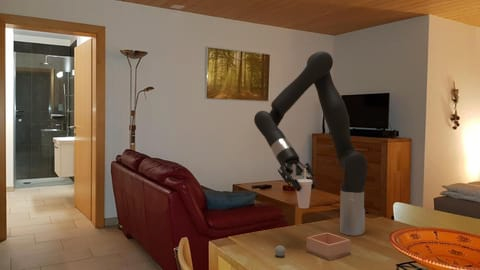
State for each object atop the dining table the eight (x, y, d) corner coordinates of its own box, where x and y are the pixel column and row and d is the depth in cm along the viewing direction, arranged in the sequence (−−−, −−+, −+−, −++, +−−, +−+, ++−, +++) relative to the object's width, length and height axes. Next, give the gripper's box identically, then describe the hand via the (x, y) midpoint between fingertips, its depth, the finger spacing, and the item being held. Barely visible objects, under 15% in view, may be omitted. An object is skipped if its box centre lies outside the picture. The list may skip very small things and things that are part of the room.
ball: (280, 253, 137) (280, 243, 137) (287, 256, 134) (287, 246, 134) (272, 255, 135) (272, 245, 135) (279, 258, 132) (279, 248, 132)
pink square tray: (327, 245, 145) (327, 232, 145) (350, 254, 137) (350, 239, 136) (306, 251, 139) (306, 237, 139) (329, 260, 130) (329, 245, 130)
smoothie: (312, 209, 138) (312, 169, 137) (294, 208, 140) (293, 169, 139) (313, 205, 144) (312, 167, 144) (295, 204, 146) (295, 166, 145)
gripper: (274, 147, 143) (297, 185, 134) (303, 145, 151) (326, 180, 142) (265, 161, 148) (286, 197, 138) (294, 158, 156) (316, 192, 147)
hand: (307, 188), depth 140 cm, fingers closed on smoothie, 6 cm apart
